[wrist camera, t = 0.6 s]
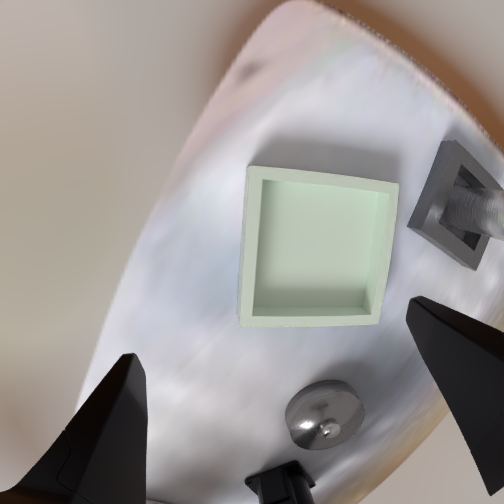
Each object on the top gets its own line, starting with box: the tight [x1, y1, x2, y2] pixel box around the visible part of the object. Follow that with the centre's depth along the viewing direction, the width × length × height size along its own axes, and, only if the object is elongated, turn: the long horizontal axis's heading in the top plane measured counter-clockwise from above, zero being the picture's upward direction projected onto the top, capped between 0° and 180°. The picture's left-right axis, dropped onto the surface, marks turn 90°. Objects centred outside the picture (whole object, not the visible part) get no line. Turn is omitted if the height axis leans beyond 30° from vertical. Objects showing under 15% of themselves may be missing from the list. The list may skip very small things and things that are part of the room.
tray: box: [237, 166, 399, 327], centre depth 22 cm, size 11×11×2 cm
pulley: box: [285, 380, 365, 450], centre depth 25 cm, size 7×7×3 cm
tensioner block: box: [407, 140, 503, 271], centre depth 23 cm, size 8×8×2 cm
